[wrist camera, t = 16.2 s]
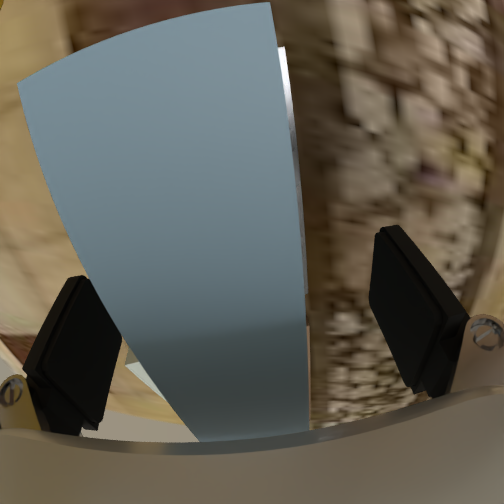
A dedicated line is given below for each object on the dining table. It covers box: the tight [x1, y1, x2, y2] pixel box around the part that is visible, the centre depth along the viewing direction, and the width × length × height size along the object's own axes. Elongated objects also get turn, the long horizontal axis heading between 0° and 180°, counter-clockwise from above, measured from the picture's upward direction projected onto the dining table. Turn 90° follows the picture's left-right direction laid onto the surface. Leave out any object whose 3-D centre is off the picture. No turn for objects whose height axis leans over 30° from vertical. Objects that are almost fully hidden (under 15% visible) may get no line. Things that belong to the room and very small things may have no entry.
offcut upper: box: [125, 347, 167, 401], centre depth 29 cm, size 3×9×2 cm
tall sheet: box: [17, 2, 309, 442], centre depth 13 cm, size 3×14×16 cm, turn 9°
